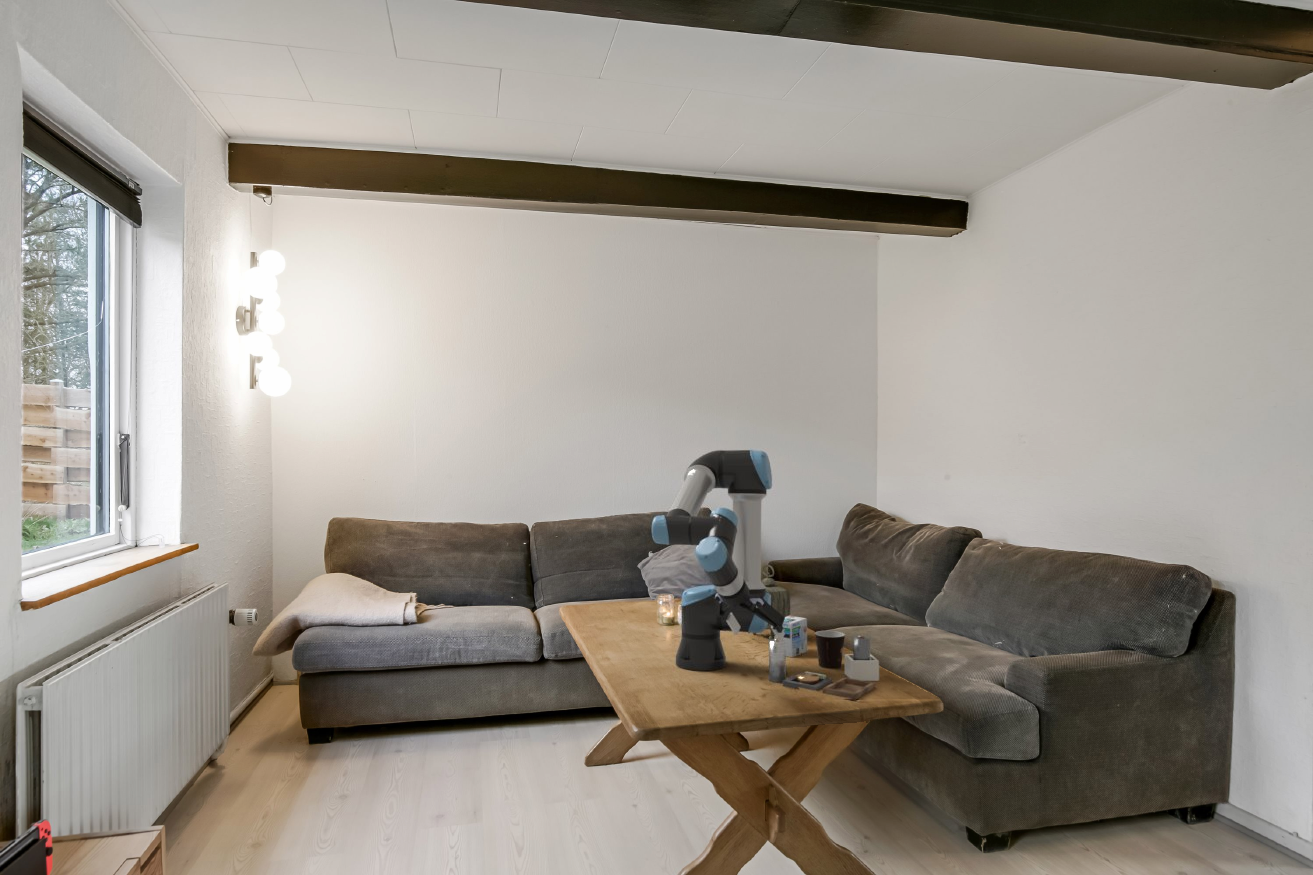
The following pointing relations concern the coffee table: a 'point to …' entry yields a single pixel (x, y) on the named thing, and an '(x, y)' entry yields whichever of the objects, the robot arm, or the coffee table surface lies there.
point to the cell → (777, 660)
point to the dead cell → (861, 647)
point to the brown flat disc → (808, 678)
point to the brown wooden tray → (849, 688)
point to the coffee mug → (830, 648)
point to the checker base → (795, 684)
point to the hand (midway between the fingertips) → (759, 634)
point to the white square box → (862, 668)
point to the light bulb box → (795, 635)
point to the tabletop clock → (776, 597)
